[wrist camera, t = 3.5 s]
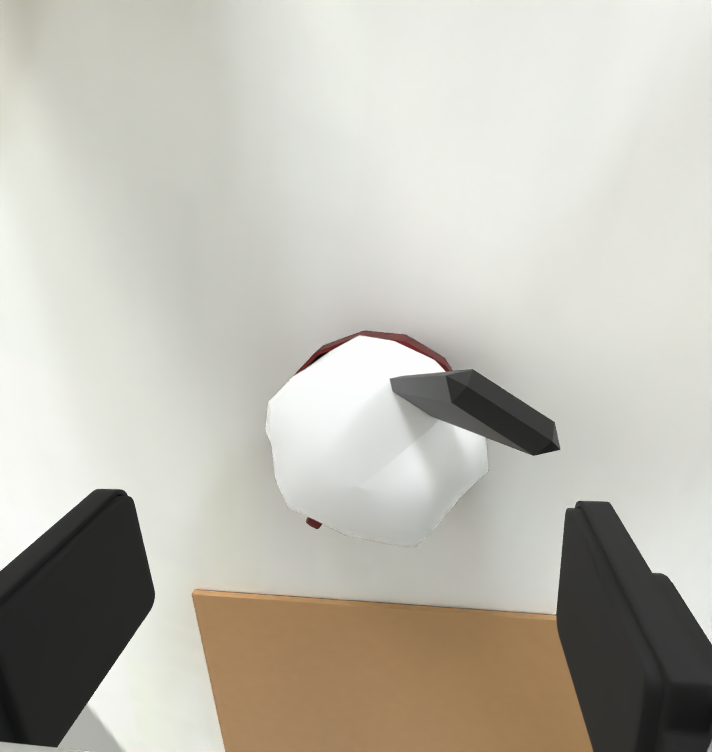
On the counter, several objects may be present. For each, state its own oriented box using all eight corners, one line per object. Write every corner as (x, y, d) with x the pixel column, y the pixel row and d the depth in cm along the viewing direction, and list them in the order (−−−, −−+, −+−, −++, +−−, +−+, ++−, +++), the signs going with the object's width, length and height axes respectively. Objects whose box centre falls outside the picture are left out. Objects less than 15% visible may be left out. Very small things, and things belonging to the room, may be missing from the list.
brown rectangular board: (644, 620, 21) (647, 626, 20) (605, 847, 26) (607, 854, 26) (194, 589, 24) (191, 593, 24) (237, 795, 29) (235, 801, 29)
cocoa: (346, 502, 21) (243, 851, 10) (251, 386, 20) (12, 634, 9) (553, 383, 18) (742, 695, 7) (454, 238, 17) (488, 328, 6)
